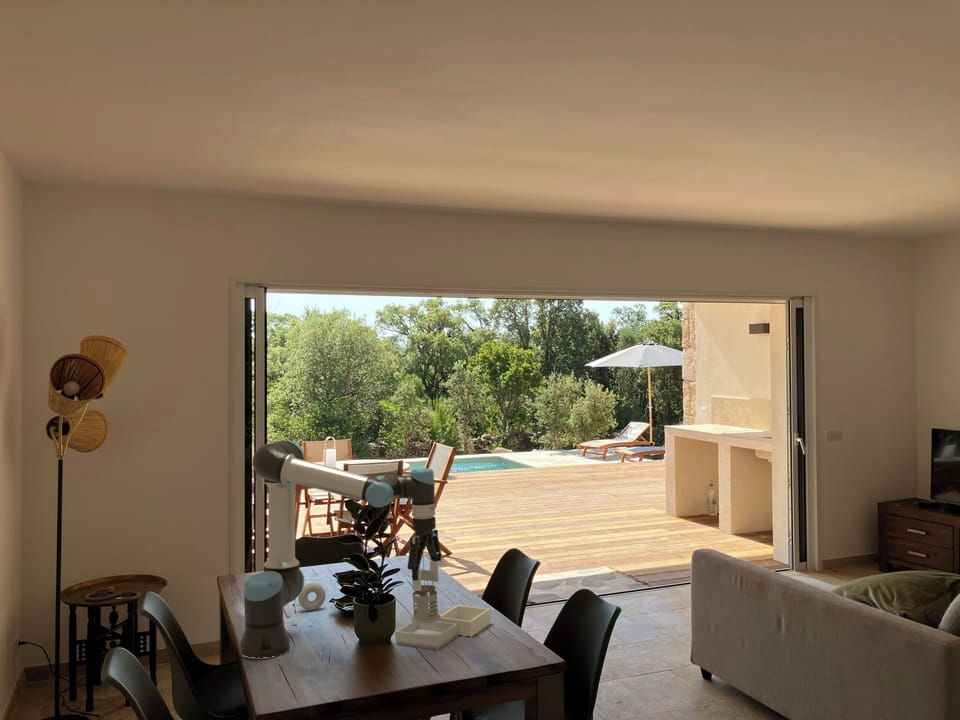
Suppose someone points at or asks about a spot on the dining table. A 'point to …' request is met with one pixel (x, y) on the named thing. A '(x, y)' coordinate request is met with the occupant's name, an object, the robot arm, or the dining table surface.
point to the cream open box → (467, 619)
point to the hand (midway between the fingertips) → (425, 585)
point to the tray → (426, 634)
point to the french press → (425, 600)
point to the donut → (305, 592)
